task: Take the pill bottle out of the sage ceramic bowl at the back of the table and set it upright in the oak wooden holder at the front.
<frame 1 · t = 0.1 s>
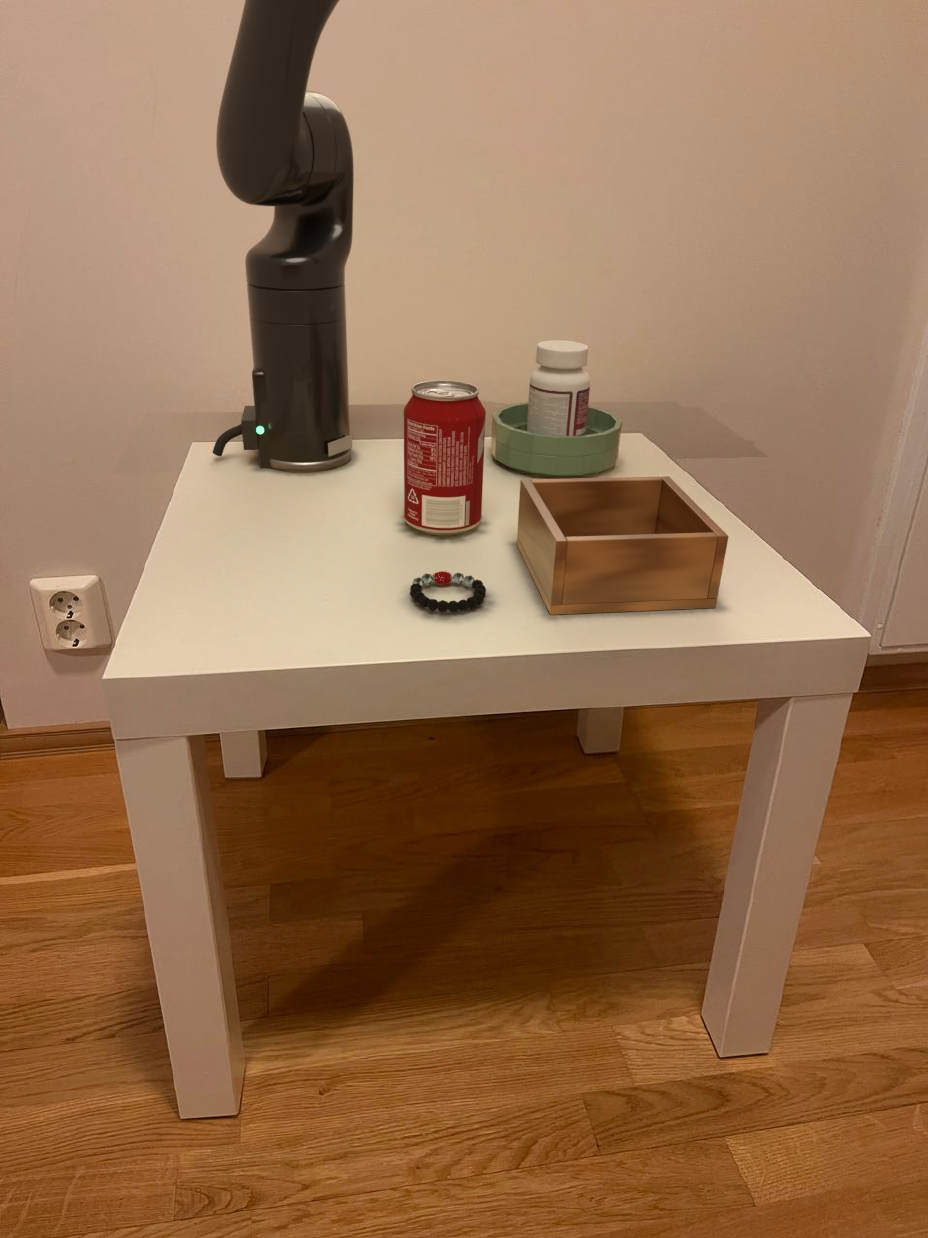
soda can: (442, 527, 80), on the table
pill bottle: (554, 456, 96), resting on bowl
bracelet: (448, 599, 67), on the table
bowl: (553, 459, 96), on the table
holder: (609, 574, 72), on the table
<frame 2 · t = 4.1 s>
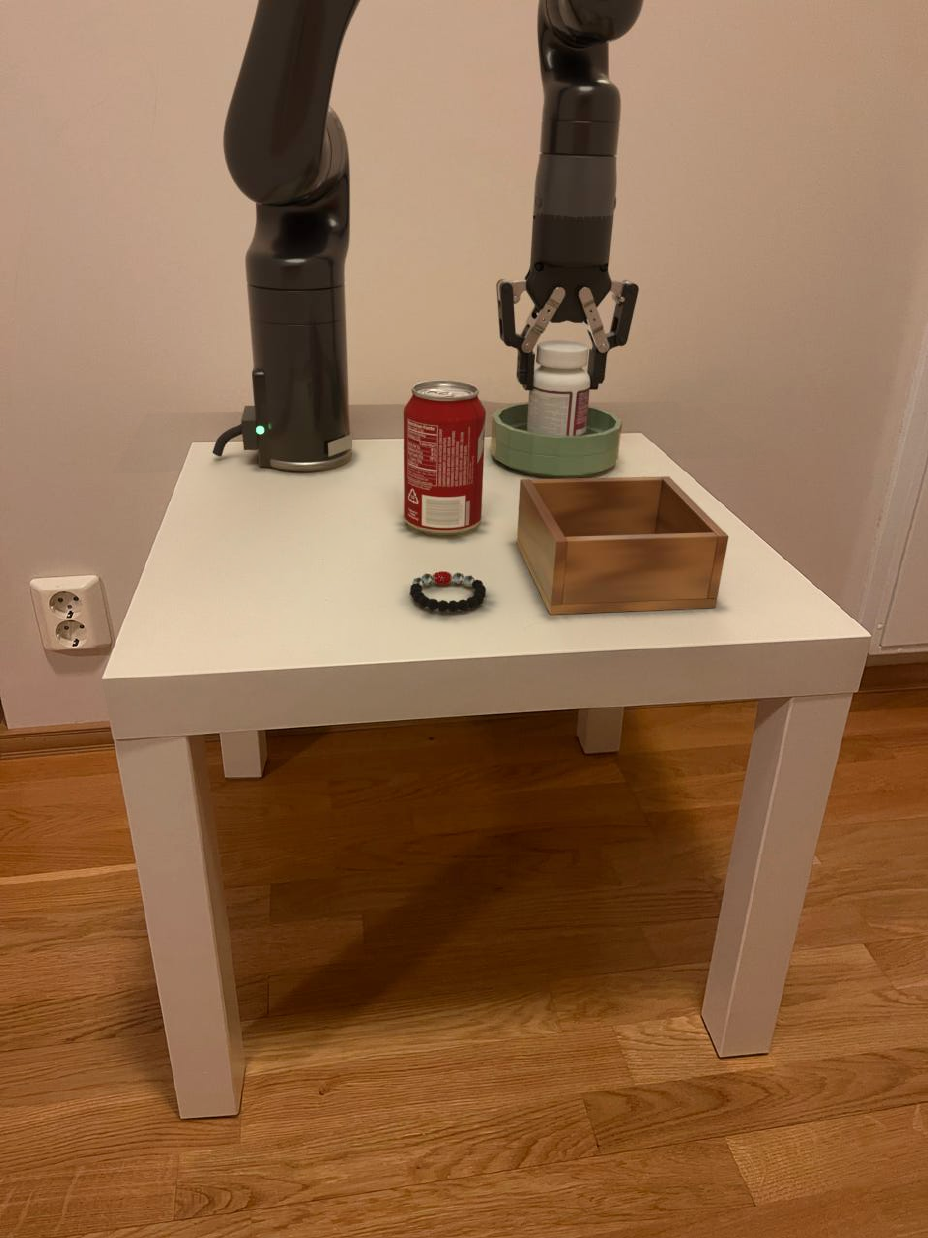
hand: (559, 387, 93), 8 cm above the table, tool pointing down, fingers closed on pill bottle, 6 cm apart
pill bottle: (554, 456, 96), resting on bowl, touching gripper
everything else where it was.
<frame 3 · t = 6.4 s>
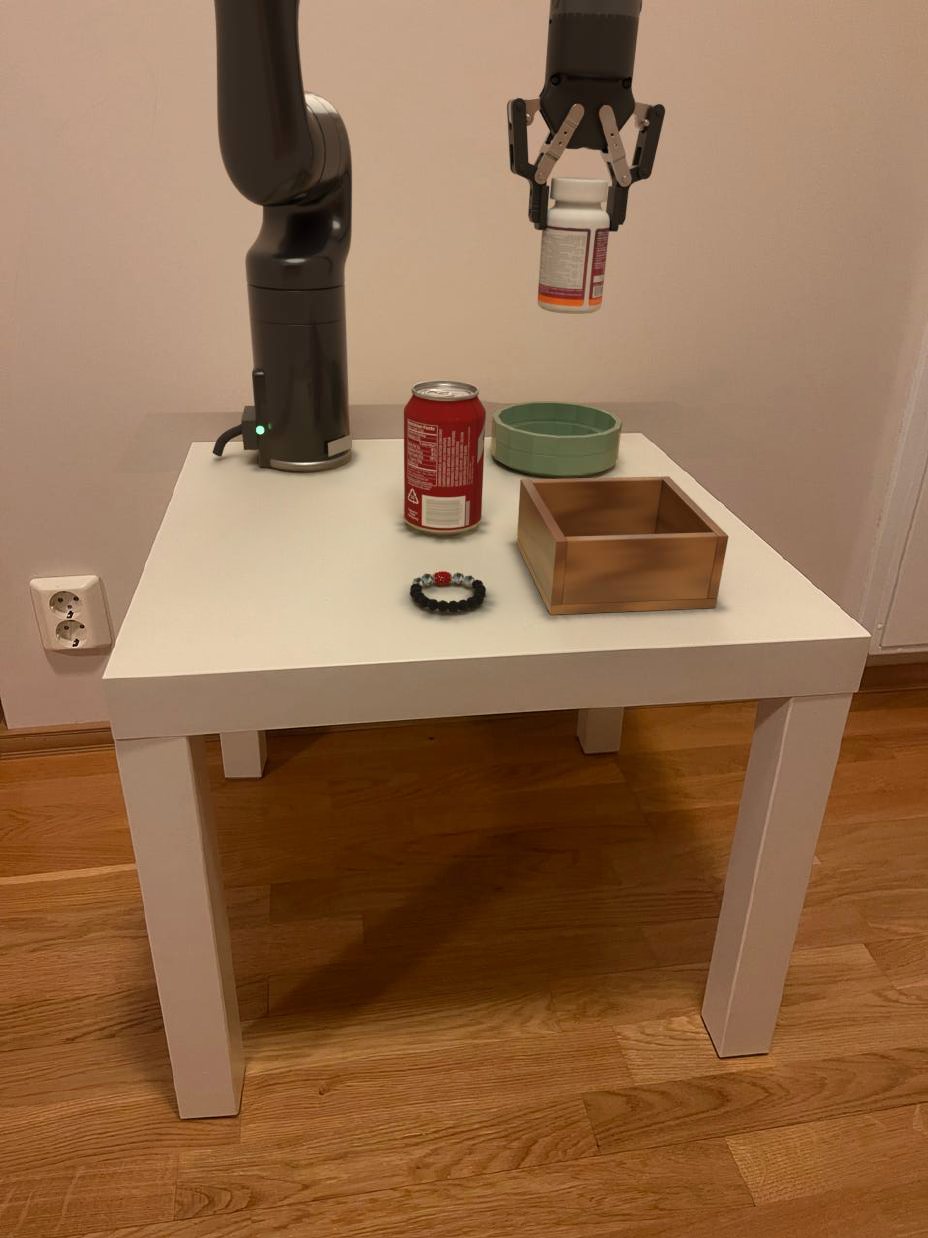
hand: (575, 229, 84), 23 cm above the table, tool pointing down, fingers closed on pill bottle, 6 cm apart
pill bottle: (568, 311, 87), point 15 cm above the table, touching gripper
everything else where it was.
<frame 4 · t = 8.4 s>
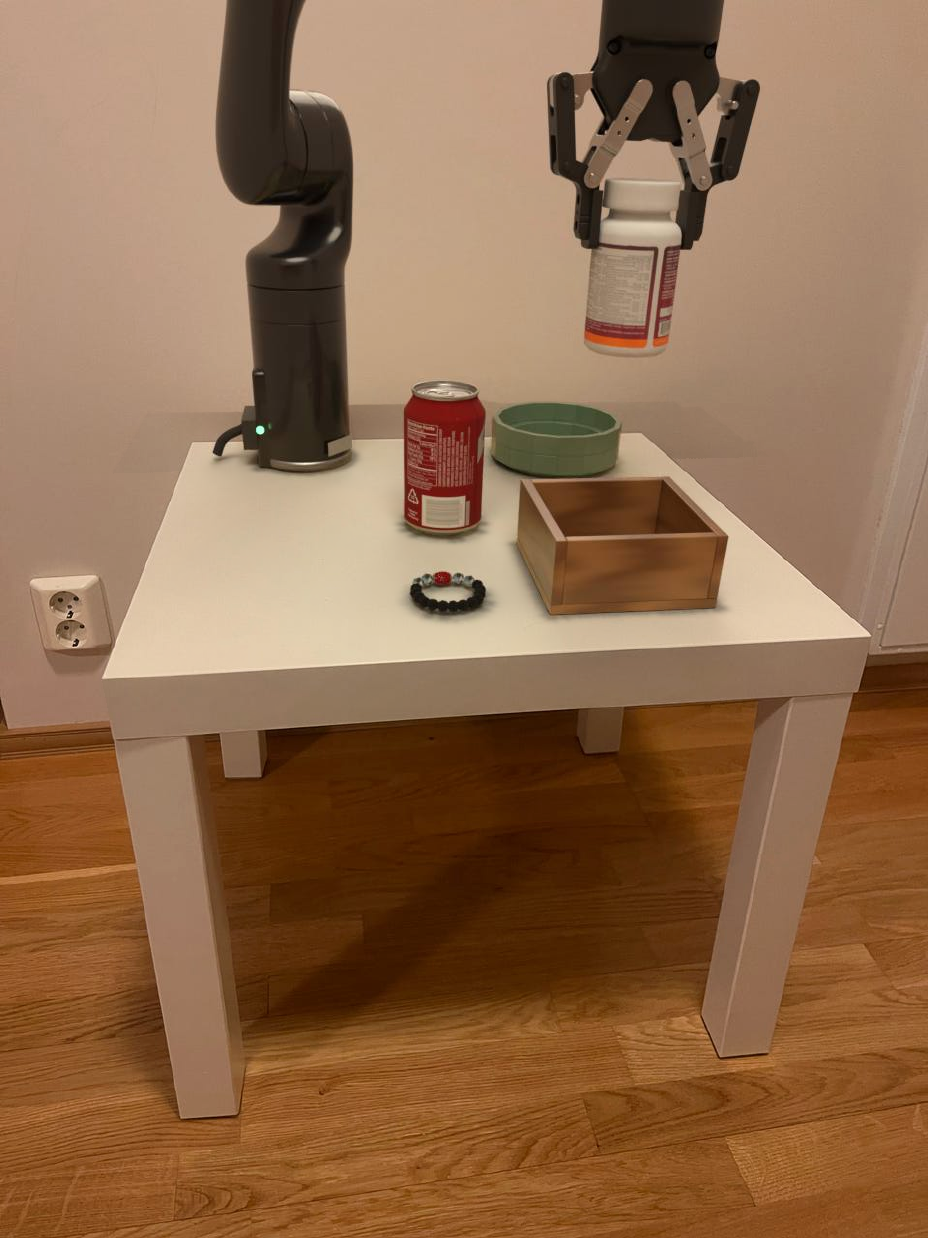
hand: (635, 247, 64), 24 cm above the table, tool pointing down, fingers closed on pill bottle, 6 cm apart
pill bottle: (624, 352, 67), point 16 cm above the table, touching gripper
everything else where it was.
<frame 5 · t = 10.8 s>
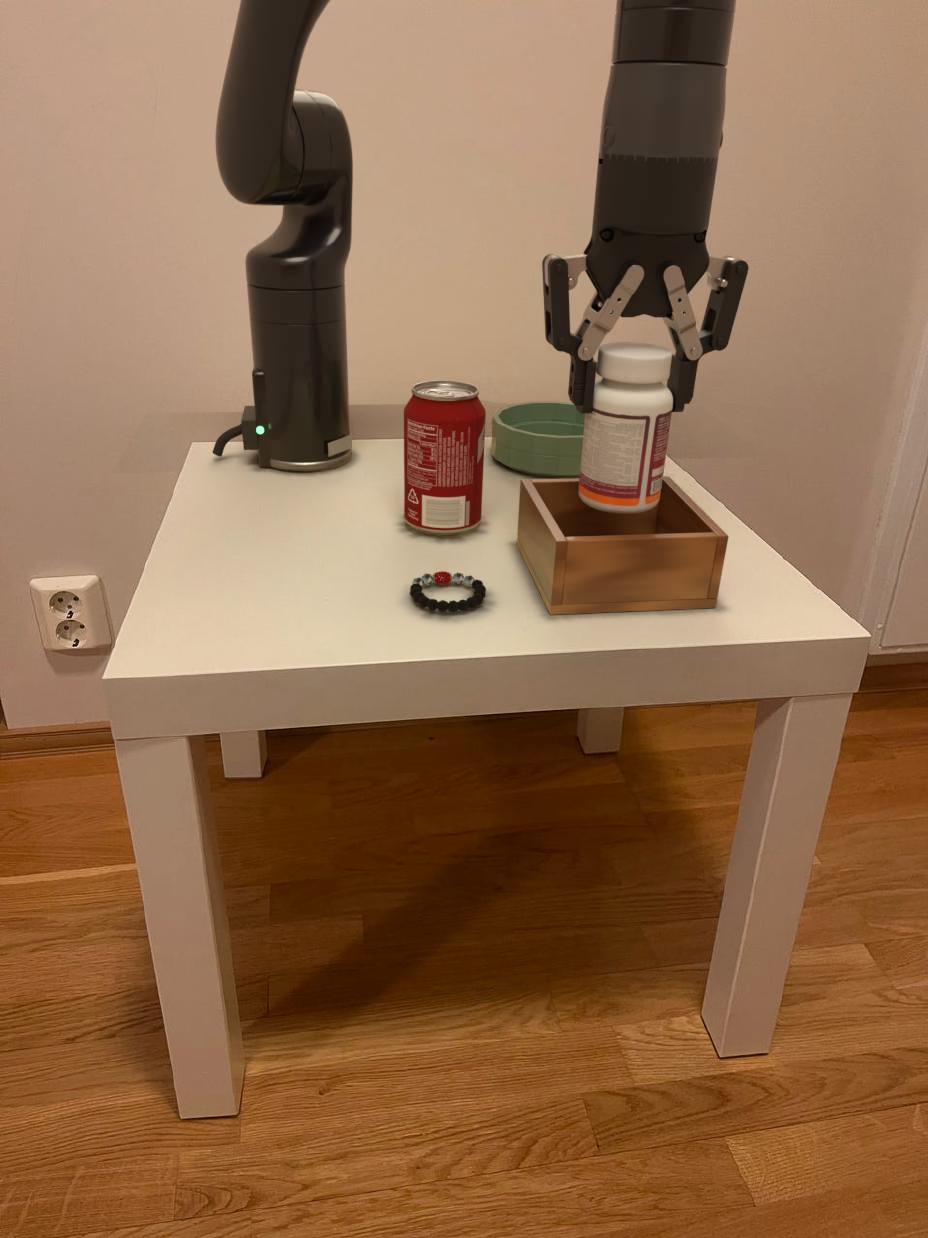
hand: (628, 409, 66), 13 cm above the table, tool pointing down, fingers closed on pill bottle, 6 cm apart
pill bottle: (617, 503, 69), point 6 cm above the table, touching gripper
everything else where it was.
when the fingers open (8 cm above the table, at t = 12.7 s): pill bottle stays where it is, resting on holder.
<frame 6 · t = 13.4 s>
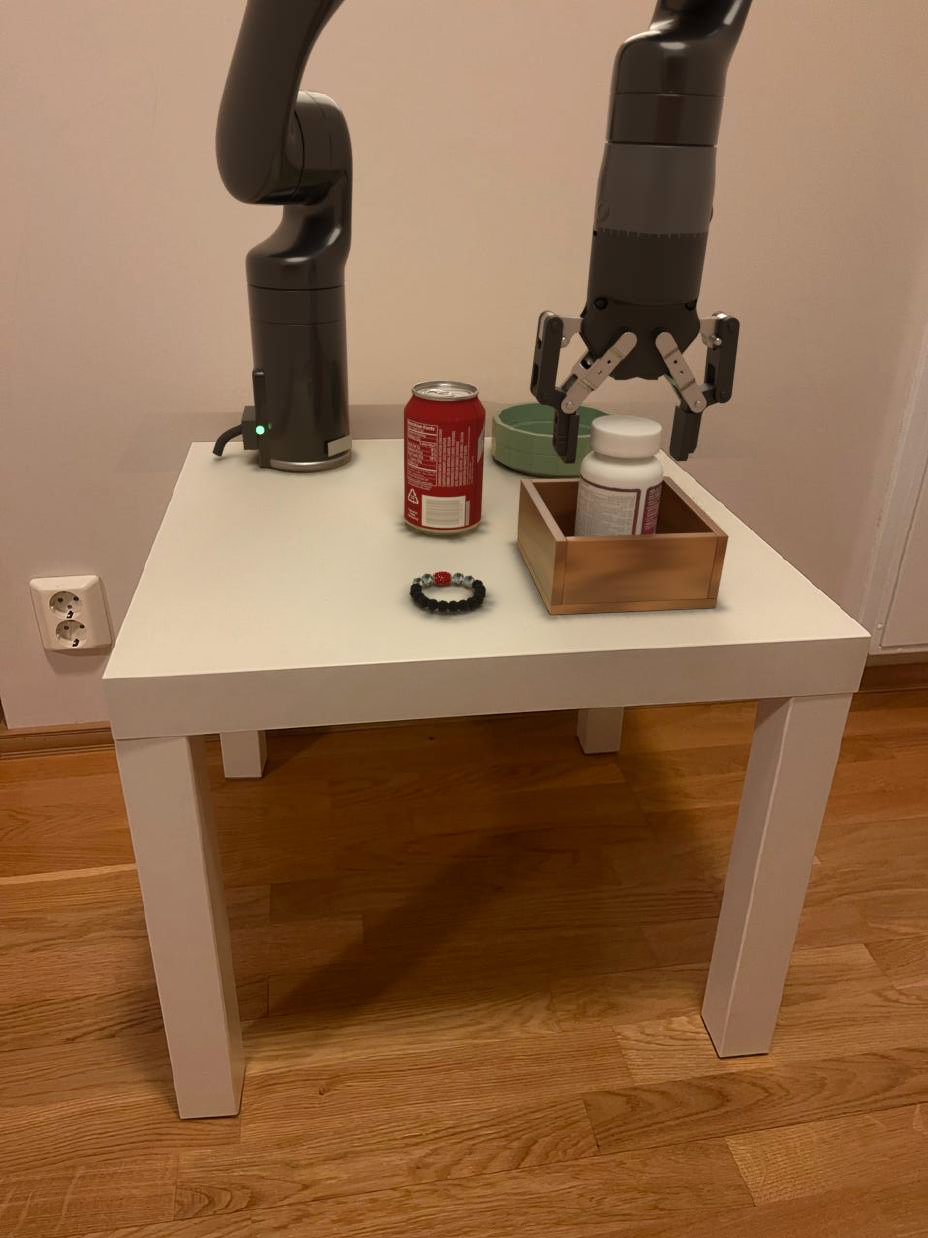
hand: (622, 459, 67), 9 cm above the table, tool pointing down, fingers open, 8 cm apart
pill bottle: (610, 567, 72), point 1 cm above the table, touching holder
everything else where it was.
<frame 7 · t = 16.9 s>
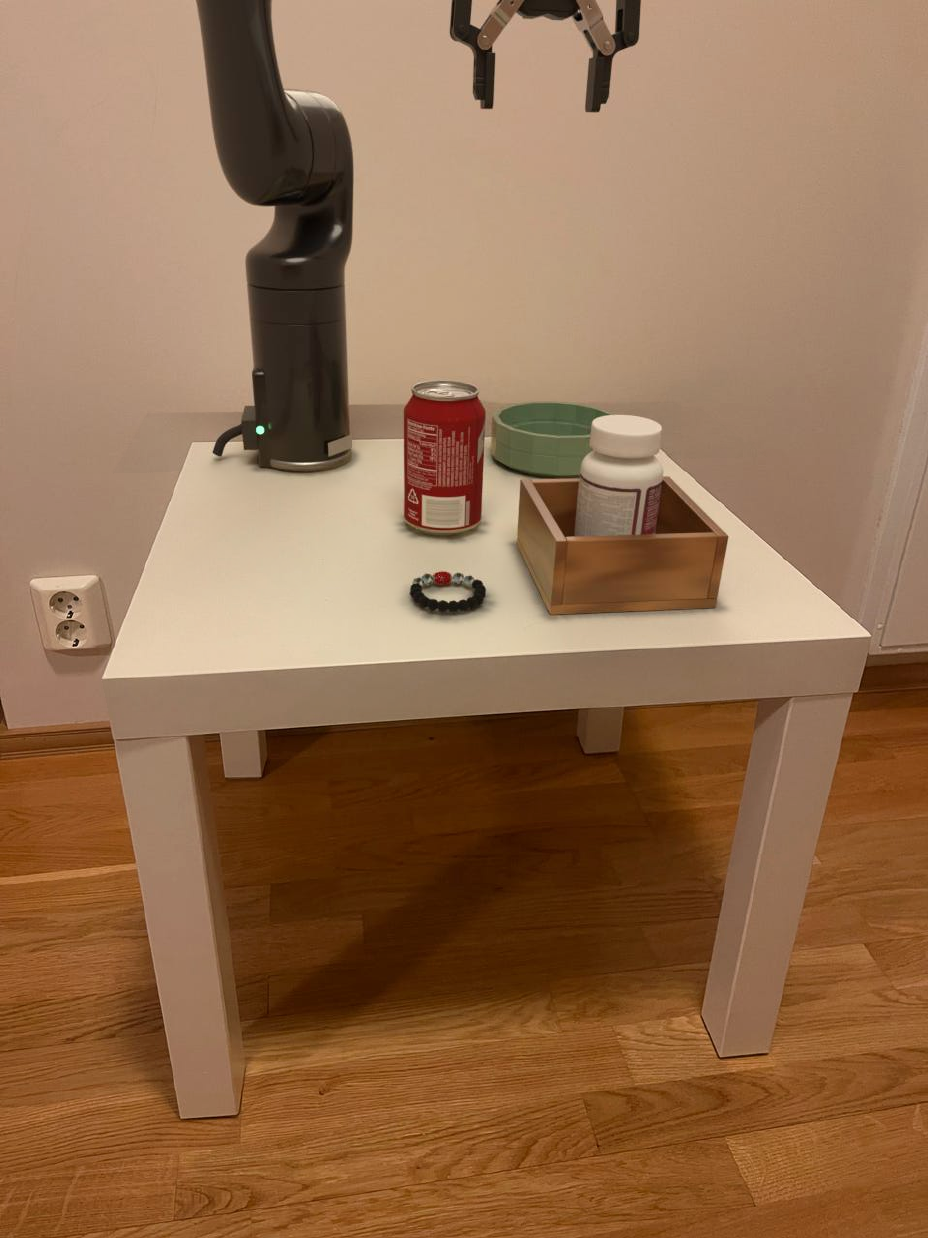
hand: (539, 110, 72), 32 cm above the table, tool pointing down, fingers open, 8 cm apart
nothing on the table moved.
at the end: pill bottle inside the target area in the holder (0.1 cm from its centre), point 0.6 cm above the holder's base; pill bottle tilted 0° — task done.
